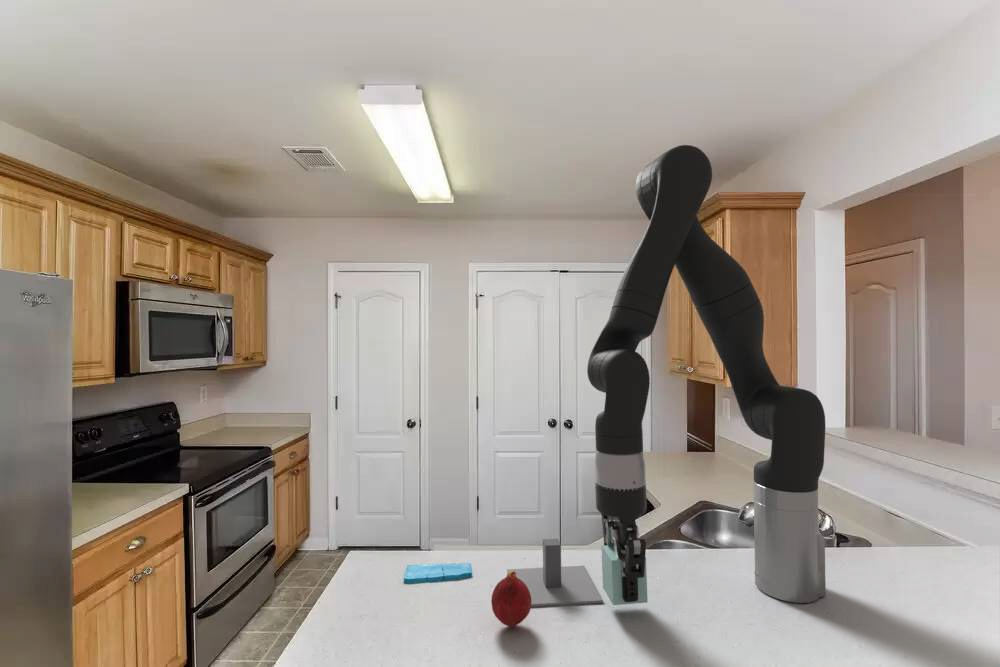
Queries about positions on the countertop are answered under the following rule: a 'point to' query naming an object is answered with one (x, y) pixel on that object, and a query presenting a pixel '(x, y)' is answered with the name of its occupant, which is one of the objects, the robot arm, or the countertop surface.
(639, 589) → the mint green square prism
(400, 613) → the countertop surface
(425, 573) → the sponge
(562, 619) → the countertop surface
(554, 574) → the post
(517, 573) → the mat
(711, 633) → the countertop surface
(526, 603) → the onion
